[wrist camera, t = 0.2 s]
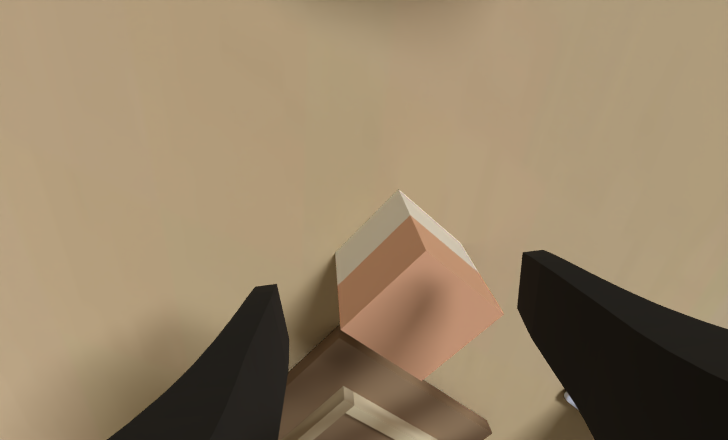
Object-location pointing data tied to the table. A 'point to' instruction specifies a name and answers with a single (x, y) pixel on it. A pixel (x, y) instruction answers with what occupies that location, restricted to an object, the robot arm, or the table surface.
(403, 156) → the table surface
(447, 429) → the walnut board
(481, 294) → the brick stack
